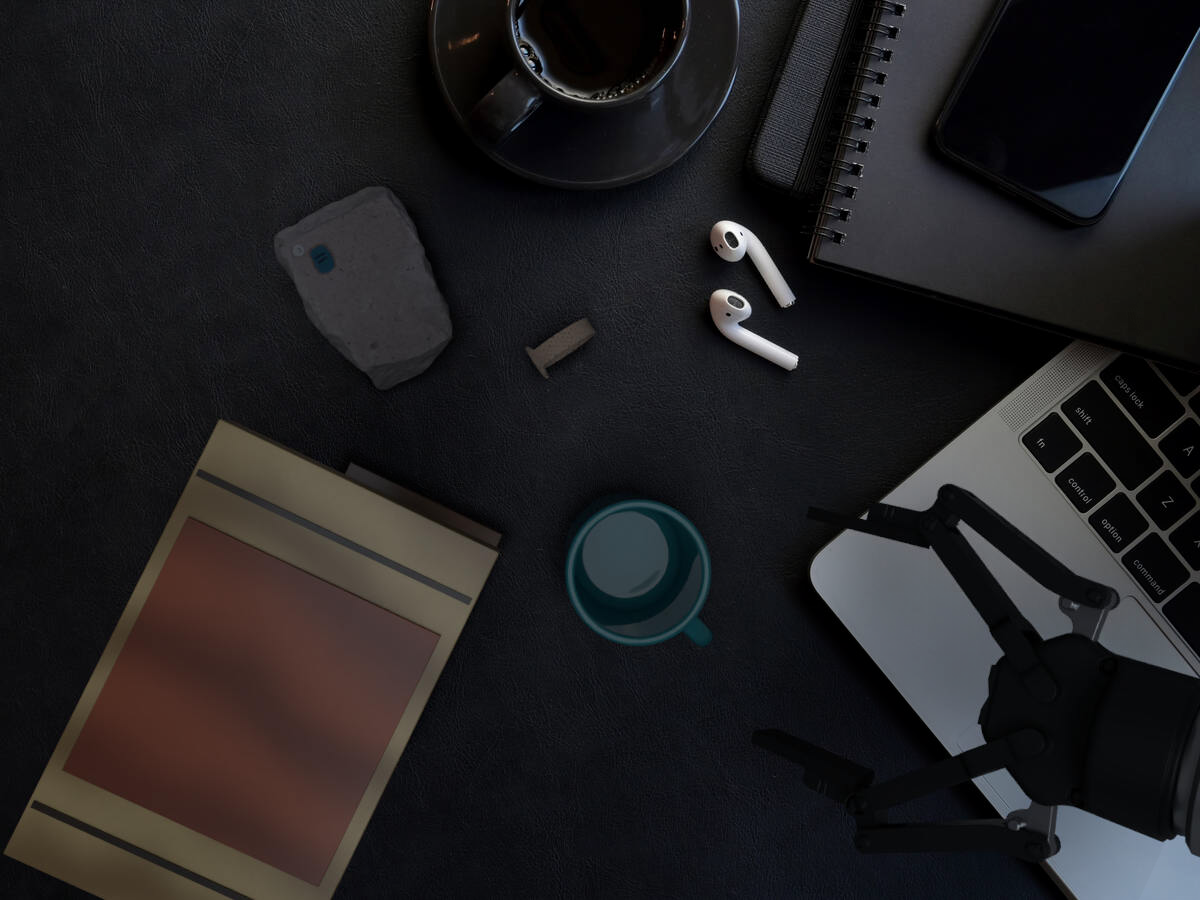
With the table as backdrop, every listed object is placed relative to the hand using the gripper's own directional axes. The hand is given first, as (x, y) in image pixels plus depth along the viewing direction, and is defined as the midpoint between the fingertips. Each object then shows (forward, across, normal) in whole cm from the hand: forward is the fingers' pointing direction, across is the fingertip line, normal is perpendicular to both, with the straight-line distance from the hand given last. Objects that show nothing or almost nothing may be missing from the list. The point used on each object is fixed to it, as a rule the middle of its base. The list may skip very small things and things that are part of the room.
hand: (790, 624), depth 56 cm
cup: (+15, 0, -3) cm, 15 cm away
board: (+8, -7, +28) cm, 30 cm away
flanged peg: (+22, +14, +3) cm, 26 cm away
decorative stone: (+32, +15, +13) cm, 37 cm away
